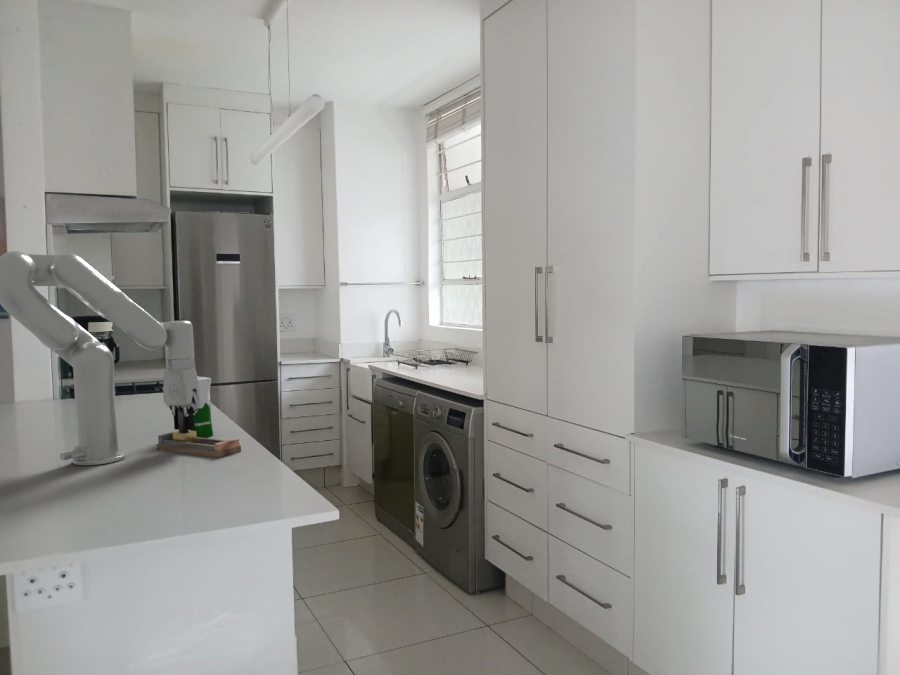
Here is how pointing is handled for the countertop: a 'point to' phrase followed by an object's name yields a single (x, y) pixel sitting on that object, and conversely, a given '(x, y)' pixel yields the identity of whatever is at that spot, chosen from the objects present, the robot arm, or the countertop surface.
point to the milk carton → (203, 410)
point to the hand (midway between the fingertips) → (184, 428)
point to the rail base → (199, 446)
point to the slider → (181, 434)
